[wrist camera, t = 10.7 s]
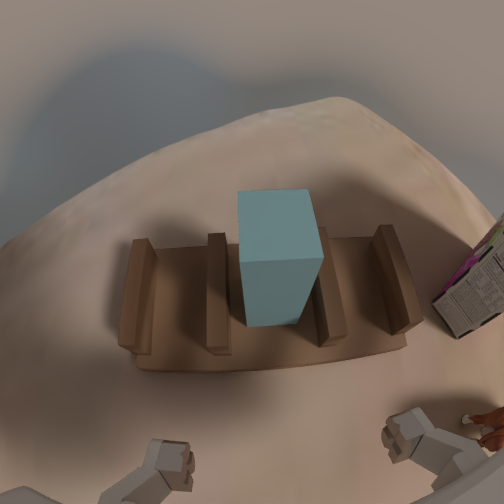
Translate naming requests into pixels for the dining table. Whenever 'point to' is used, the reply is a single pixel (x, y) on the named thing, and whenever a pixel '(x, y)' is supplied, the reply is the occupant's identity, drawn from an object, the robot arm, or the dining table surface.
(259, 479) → the dining table surface
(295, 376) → the dining table surface
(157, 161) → the dining table surface
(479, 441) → the bull figurine
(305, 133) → the dining table surface
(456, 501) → the robot arm
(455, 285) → the candy bar box
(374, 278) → the rack
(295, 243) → the teal rectangular block
